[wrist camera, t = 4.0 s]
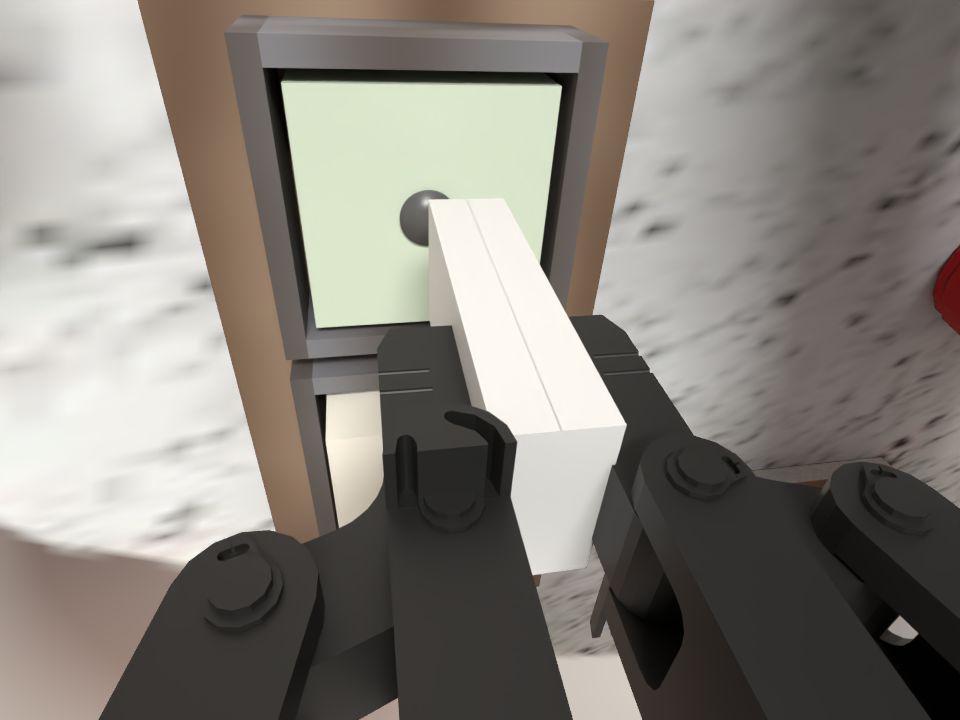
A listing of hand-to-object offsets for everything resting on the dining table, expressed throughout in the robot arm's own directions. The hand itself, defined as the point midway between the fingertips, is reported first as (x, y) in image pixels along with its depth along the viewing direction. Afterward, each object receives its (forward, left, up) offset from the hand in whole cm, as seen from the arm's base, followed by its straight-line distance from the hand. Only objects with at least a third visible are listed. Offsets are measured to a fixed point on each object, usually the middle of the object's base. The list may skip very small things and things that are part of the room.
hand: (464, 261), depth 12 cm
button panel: (0, +9, -8) cm, 12 cm away
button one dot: (0, 0, -5) cm, 5 cm away
